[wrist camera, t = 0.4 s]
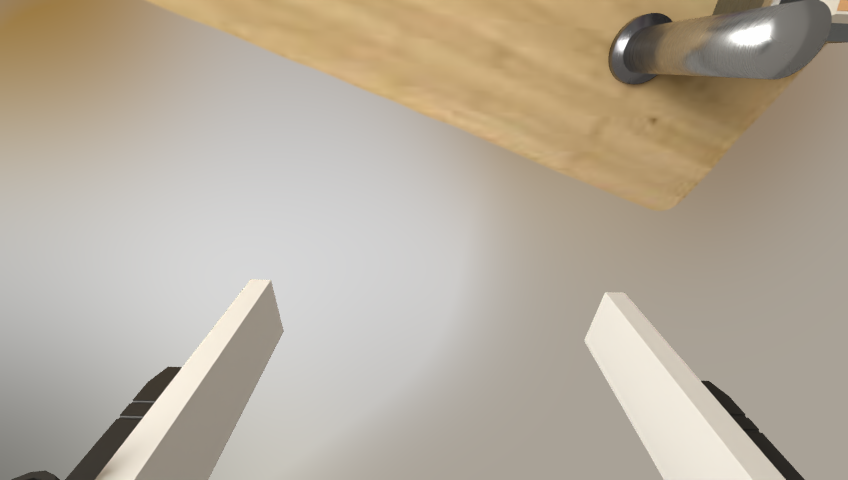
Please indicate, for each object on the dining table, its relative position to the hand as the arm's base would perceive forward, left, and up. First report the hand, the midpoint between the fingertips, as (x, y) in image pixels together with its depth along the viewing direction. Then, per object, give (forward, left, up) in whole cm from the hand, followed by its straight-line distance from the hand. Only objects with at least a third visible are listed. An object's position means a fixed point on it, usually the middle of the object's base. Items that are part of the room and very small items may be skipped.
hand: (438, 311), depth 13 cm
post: (-11, +21, -27) cm, 36 cm away
